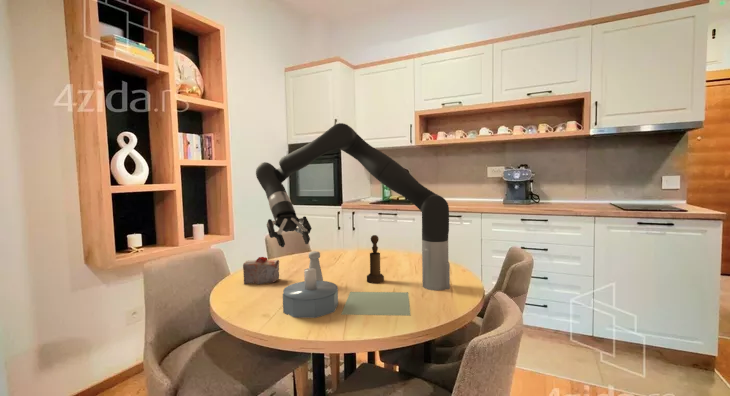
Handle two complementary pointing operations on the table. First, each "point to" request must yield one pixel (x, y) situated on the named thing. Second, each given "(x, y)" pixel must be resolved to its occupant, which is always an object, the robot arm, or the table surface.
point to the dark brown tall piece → (375, 264)
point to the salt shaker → (315, 264)
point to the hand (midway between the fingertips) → (295, 244)
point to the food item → (261, 271)
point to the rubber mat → (377, 303)
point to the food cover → (310, 297)
